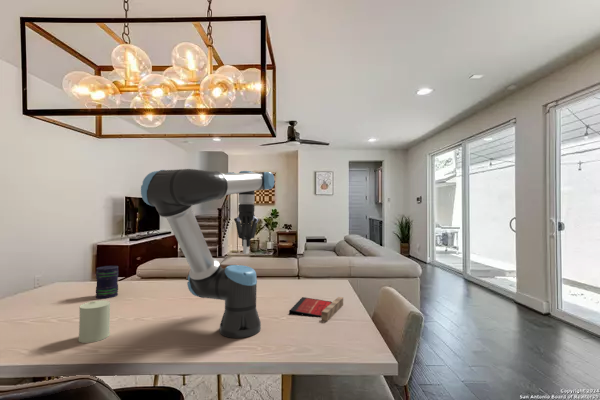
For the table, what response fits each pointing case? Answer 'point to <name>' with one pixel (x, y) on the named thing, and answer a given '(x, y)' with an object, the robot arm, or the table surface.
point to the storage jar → (107, 282)
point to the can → (94, 321)
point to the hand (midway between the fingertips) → (246, 253)
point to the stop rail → (332, 309)
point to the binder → (309, 307)
